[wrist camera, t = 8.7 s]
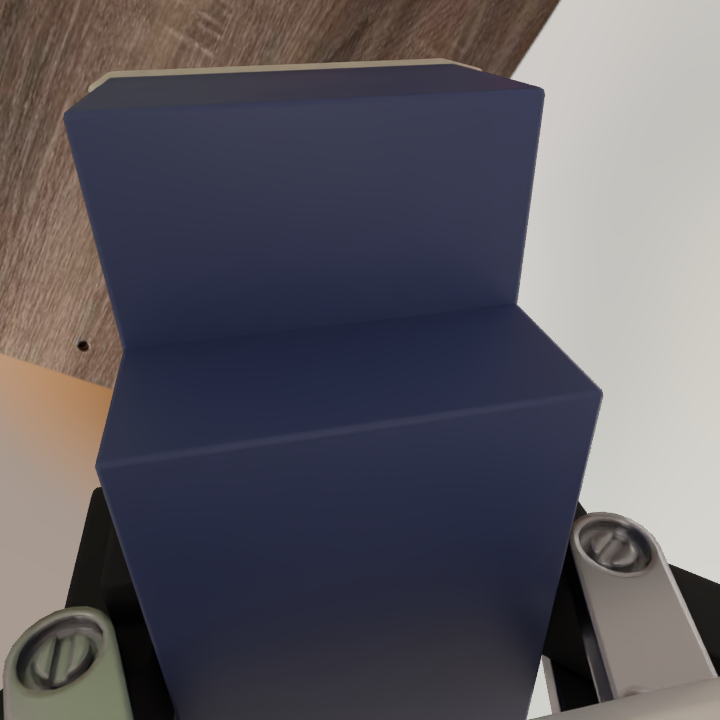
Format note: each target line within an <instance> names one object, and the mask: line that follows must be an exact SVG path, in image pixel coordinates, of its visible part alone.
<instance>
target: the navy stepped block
mask: <svg viewBox="0 0 720 720" xmlns="http://www.w3.org/2000/svg"><path fill="white" fill-rule="evenodd" d="M88 91H89V94H88V95H86V96H85V97H84V98H83V99H81V100H80V101H79V102H77V103H76V104H75V105H74V106H72V107H71V108H70V109H69V110H67V111H66V112H65V113H64V117H63V120H64V124H65V128H66V132H67V136H68V139H69V143H70V147H71V151H72V155H73V159H74V163H75V166H76V170H77V174H78V178H79V182H80V186H81V190H82V193H83V197H84V201H85V205H86V209H87V213H88V217H89V220H90V224H91V228H92V232H93V236H94V240H95V244H96V247H97V251H98V255H99V259H100V263H101V267H102V271H103V274H104V278H105V282H106V286H107V290H108V294H109V298H110V301H111V305H112V309H113V313H114V317H115V321H116V325H117V328H118V332H119V336H120V340H121V344H122V348H123V355H122V359H121V363H120V367H119V371H118V375H117V379H116V383H115V387H114V391H113V396H112V400H111V404H110V408H109V412H108V416H107V420H106V424H105V428H104V432H103V436H102V440H101V444H100V448H99V452H98V456H97V461H96V465H95V468H96V471H97V475H98V477H99V481H100V484H101V487H102V490H103V493H104V496H105V499H106V502H107V505H108V508H109V511H110V514H111V517H112V521H113V524H114V527H115V530H116V533H117V536H118V539H119V542H120V545H121V548H122V551H123V554H124V557H125V560H126V563H127V566H128V570H129V573H130V576H131V579H132V582H133V585H134V588H135V591H136V594H137V597H138V600H139V603H140V606H141V609H142V612H143V615H144V619H145V622H146V625H147V628H148V631H149V634H150V637H151V640H152V643H153V646H154V649H155V652H156V655H157V658H158V661H159V665H160V668H161V671H162V674H163V677H164V680H165V683H166V686H167V689H168V692H169V695H170V698H171V701H172V704H173V707H174V710H175V714H176V717H177V720H526V718H527V715H528V710H529V706H530V702H531V697H532V693H533V689H534V685H535V681H536V677H537V672H538V668H539V664H540V660H541V656H542V651H543V647H544V643H545V639H546V634H547V630H548V626H549V622H550V618H551V613H552V609H553V605H554V601H555V597H556V592H557V588H558V584H559V580H560V575H561V571H562V567H563V563H564V559H565V554H566V550H567V546H568V542H569V537H570V533H571V529H572V525H573V521H574V516H575V512H576V508H577V504H578V499H579V495H580V491H581V487H582V483H583V478H584V474H585V470H586V466H587V461H588V457H589V452H590V449H591V445H592V440H593V436H594V431H595V428H596V424H597V419H598V415H599V411H600V407H601V402H602V398H603V392H602V390H601V389H600V388H599V387H598V386H597V385H596V384H595V383H594V382H593V381H592V380H591V379H590V378H589V377H588V376H587V375H586V374H585V373H584V371H583V370H581V368H579V366H578V365H577V364H575V362H574V361H573V360H571V358H569V356H568V355H566V353H564V351H563V350H561V348H560V347H559V346H558V345H557V344H556V343H555V342H553V340H552V339H551V338H550V337H549V336H548V335H547V334H546V333H545V332H544V331H543V330H542V329H541V328H540V327H539V326H538V325H537V324H536V323H535V322H534V321H533V320H532V319H531V318H530V317H529V316H528V315H527V314H526V313H525V312H524V311H523V310H522V309H521V308H520V307H519V306H518V305H517V300H518V293H519V285H520V278H521V270H522V263H523V254H524V247H525V240H526V233H527V225H528V218H529V209H530V203H531V194H532V187H533V180H534V172H535V165H536V158H537V150H538V143H539V135H540V127H541V120H542V112H543V105H544V97H545V93H544V89H542V88H540V87H537V86H533V85H529V84H526V83H522V82H518V81H515V80H511V79H508V78H504V77H500V76H497V75H493V74H490V73H486V72H482V70H481V69H480V68H477V67H473V66H469V65H465V64H462V63H458V62H454V61H450V60H447V59H443V58H438V59H413V60H388V61H362V62H337V63H312V64H287V65H261V66H236V67H211V68H185V69H160V70H135V71H110V72H108V73H106V74H105V75H104V76H102V77H101V78H100V79H98V80H97V81H96V82H94V83H93V84H91V85H90V86H89V90H88Z"/></svg>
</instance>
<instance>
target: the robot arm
mask: <svg viewBox="0 0 720 720" xmlns="http://www.w3.org/2000/svg"><path fill="white" fill-rule="evenodd" d="M542 662H543V667H544V673H545V678H546V683H547V688H548V693H549V699H550V704H551V709H552V715H548V716H543V717H539V718H535V719H530V720H720V584H718V583H715V582H713V581H710V580H708V579H706V578H703V577H701V576H698V575H696V574H693V573H691V572H688V571H686V570H683V569H681V568H678V567H676V566H673V565H671V564H668V563H667V561H666V558H665V556H664V554H663V552H662V549H661V547H660V545H659V544H658V542H657V541H656V539H655V537H654V536H653V535H652V534H651V533H650V532H648V530H646V529H645V528H644V527H643V526H642V525H640V524H638V523H637V522H635V521H633V520H631V519H629V518H626V517H624V516H621V515H618V514H613V513H607V512H596V513H589V514H587V513H586V511H585V510H584V509H583V507H582V506H581V504H580V503H579V501H578V504H577V508H576V512H575V516H574V521H573V525H572V529H571V533H570V537H569V542H568V546H567V550H566V554H565V559H564V563H563V567H562V571H561V575H560V580H559V584H558V588H557V592H556V597H555V601H554V605H553V609H552V613H551V618H550V622H549V626H548V630H547V634H546V639H545V643H544V647H543V651H542ZM0 720H177V717H176V714H175V710H174V707H173V704H172V701H171V698H170V695H169V692H168V689H167V686H166V683H165V680H164V677H163V674H162V671H161V668H160V665H159V661H158V658H157V655H156V652H155V649H154V646H153V643H152V640H151V637H150V634H149V631H148V628H147V625H146V622H145V619H144V615H143V612H142V609H141V606H140V603H139V600H138V597H137V594H136V591H135V588H134V585H133V582H132V579H131V576H130V573H129V570H128V566H127V563H126V560H125V557H124V554H123V551H122V548H121V545H120V542H119V539H118V536H117V533H116V530H115V527H114V524H113V521H112V517H111V514H110V511H109V508H108V505H107V502H106V499H105V496H104V493H103V490H102V487H99V488H96V489H95V490H94V491H93V494H92V497H91V501H90V505H89V509H88V513H87V517H86V521H85V526H84V530H83V534H82V538H81V542H80V546H79V551H78V555H77V559H76V563H75V567H74V571H73V576H72V580H71V584H70V588H69V592H68V596H67V601H66V605H65V609H62V610H59V611H55V612H54V613H52V614H50V615H48V616H46V617H44V618H42V619H40V620H39V621H37V622H36V623H35V624H34V625H32V626H31V627H30V628H28V629H27V630H26V631H25V632H24V633H23V634H22V635H21V636H20V638H19V639H18V640H17V641H16V642H15V643H14V645H13V646H12V648H11V650H10V652H9V654H8V656H7V658H6V660H5V665H4V671H3V689H2V690H1V691H0Z"/></svg>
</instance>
